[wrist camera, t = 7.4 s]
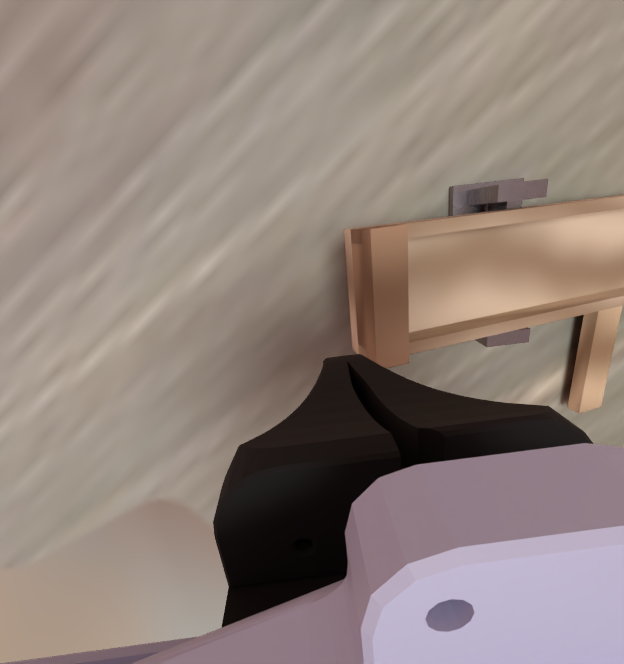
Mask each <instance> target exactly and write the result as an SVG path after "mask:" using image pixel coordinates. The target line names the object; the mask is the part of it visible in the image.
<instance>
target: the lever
mask: <svg viewBox="0 0 624 664" xmlns="http://www.w3.org/2000/svg"><path fill="white" fill-rule="evenodd" d="M344 238H345V252H346V265H347V279H348V293H349V307H350V320H351V334H352V348H353V350H354V351H355V352H356V353H358V354H361V355H363V356H365V357H367V358H368V359H370V360H372V361H374V362H375V363H377V364H379V365H380V366H382V367H384V368H390V367H394V366H398V365H402V364H407V363H409V354H413V353H418V352H422V351H427V350H431V349H435V348H440V347H444V346H448V345H453V344H457V343H462V342H466V341H470V340H475V339H479V338H483V337H488V336H492V335H497V334H501V333H505V332H510V331H514V330H518V329H523V328H527V327H532V326H536V325H540V324H545V323H549V322H553V321H558V320H562V319H566V318H571V317H575V316H580V315H584V317H583V322H582V328H581V334H580V339H579V345H578V351H577V357H576V362H575V368H574V374H573V379H572V385H571V391H570V396H569V402H568V408H569V409H571V410H573V411H575V412H577V413H582V412H585V411H588V410H591V409H594V408H598V407H601V404H602V399H603V394H604V390H605V385H606V380H607V376H608V371H609V367H610V362H611V357H612V353H613V348H614V343H615V339H616V334H617V329H618V325H619V320H620V315H621V311H622V306H623V305H624V195H617V196H609V197H601V198H593V199H585V200H577V201H569V202H561V203H553V204H545V205H537V206H529V207H521V208H513V209H505V210H497V211H489V212H480V213H472V214H464V215H456V216H448V217H440V218H432V219H424V220H416V221H408V222H400V223H392V224H384V225H376V226H368V227H360V228H352V229H344Z"/></svg>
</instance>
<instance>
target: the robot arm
mask: <svg viewBox="0 0 624 664" xmlns="http://www.w3.org/2000/svg"><path fill="white" fill-rule="evenodd" d="M213 524H214V534H215V540H216V543H217V547H218V550H219V554H220V557H221V560H222V564H223V567H224V571H225V575H226V578H227V582H228V585H229V590H228V595H227V600H226V606H225V612H224V617H223V623H222V628H220V629H217V630H215V631H212V632H210V633H207V634H205V635H202V636H199V637H192V638H186V639H177V640H170V641H163V642H156V643H148V644H141V645H133V646H126V647H118V648H111V649H103V650H96V651H89V652H81V653H74V654H67V655H60V656H52V657H45V658H37V659H30V660H23V661H15V662H7V663H0V664H624V449H623V448H622V447H618V446H608V445H598V444H593V442H592V441H591V440H590V439H589V437H588V436H587V435H586V434H585V432H584V431H582V430H581V429H580V428H578V427H577V426H575V425H574V424H573V423H571V422H570V421H569V420H567V419H566V418H564V417H563V416H562V415H560V414H559V413H557V412H556V411H555V410H553V409H552V408H551V407H549V406H540V405H526V404H513V403H502V402H495V401H488V400H481V399H475V398H470V397H464V396H460V395H456V394H452V393H447V392H443V391H440V390H436V389H433V388H430V387H427V386H424V385H421V384H419V383H416V382H413V381H411V380H409V379H406V378H404V377H402V376H400V375H398V374H396V373H394V372H392V371H390V370H388V369H386V368H384V367H382V366H380V365H379V364H377V363H375V362H374V361H372V360H370V359H368V358H367V357H365V356H363V355H361V354H356V355H348V356H339V357H331V358H326V359H325V360H324V361H323V367H322V370H321V373H320V375H319V377H318V380H317V382H316V384H315V385H314V387H313V389H312V390H311V392H310V394H309V395H308V396H307V398H306V399H305V400H304V402H303V403H302V404H301V405H300V406H299V407H298V408H297V409H296V410H295V411H294V412H293V413H292V414H291V415H290V416H289V417H287V418H286V419H285V420H283V421H282V422H281V423H279V424H278V425H276V426H275V427H273V428H272V429H270V430H269V431H267V432H265V433H264V434H262V435H260V436H258V437H256V438H254V439H252V440H250V441H248V442H246V443H244V444H241V445H240V446H239V447H238V449H237V451H236V454H235V456H234V458H233V460H232V462H231V465H230V467H229V469H228V472H227V474H226V477H225V479H224V482H223V485H222V489H221V493H220V497H219V501H218V505H217V509H216V513H215V517H214V521H213Z"/></svg>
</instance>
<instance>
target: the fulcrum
mask: <svg viewBox="0 0 624 664" xmlns="http://www.w3.org/2000/svg"><path fill="white" fill-rule="evenodd" d="M547 185H548V179H542V180H533V181H525V182H524V178H521V179H512V180H503V181H494V182H486V183H477V184H468V185H459V186H452V187H450V195H449V216H456V215H464V214H472V213H480V212H489V211H497V210H505V209H513V208H521V205H522V200H523V199H531V198H540V197H546V193H547ZM529 334H530V328H528V327H527V328H523V329H518V330H514V331H510V332H505V333H501V334H497V335H492V336H488V337H483V338H479V339H475V340H476V341H478V342H479V343H481V344H483V345H484V346H486V347H492V346H500V345H508V344H517V343H525V342H529Z"/></svg>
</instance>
